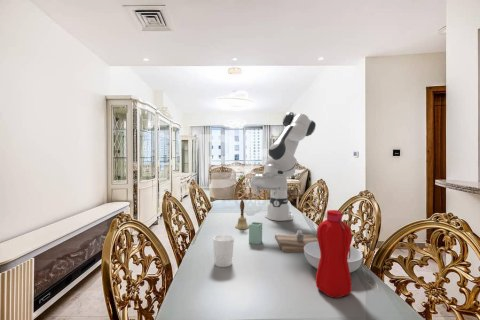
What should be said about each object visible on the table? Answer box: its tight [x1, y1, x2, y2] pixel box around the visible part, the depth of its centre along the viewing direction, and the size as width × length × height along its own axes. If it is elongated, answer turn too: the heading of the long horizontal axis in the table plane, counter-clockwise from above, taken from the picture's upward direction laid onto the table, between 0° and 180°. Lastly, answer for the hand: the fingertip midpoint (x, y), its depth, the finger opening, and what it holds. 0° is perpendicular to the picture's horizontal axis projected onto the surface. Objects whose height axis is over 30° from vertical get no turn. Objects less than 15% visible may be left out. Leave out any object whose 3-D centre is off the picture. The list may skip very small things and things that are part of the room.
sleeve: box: [248, 221, 263, 245], centre depth 127 cm, size 5×5×9 cm
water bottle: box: [315, 209, 353, 298], centre depth 80 cm, size 9×11×25 cm
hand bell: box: [235, 199, 249, 230], centre depth 153 cm, size 8×8×16 cm
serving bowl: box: [303, 241, 364, 274], centre depth 98 cm, size 21×21×7 cm
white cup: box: [212, 234, 235, 268], centre depth 101 cm, size 8×8×10 cm
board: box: [274, 234, 318, 253], centre depth 124 cm, size 20×20×2 cm
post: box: [295, 229, 304, 242], centre depth 124 cm, size 3×3×5 cm
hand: (266, 195), depth 137 cm, fingers open, 8 cm apart
